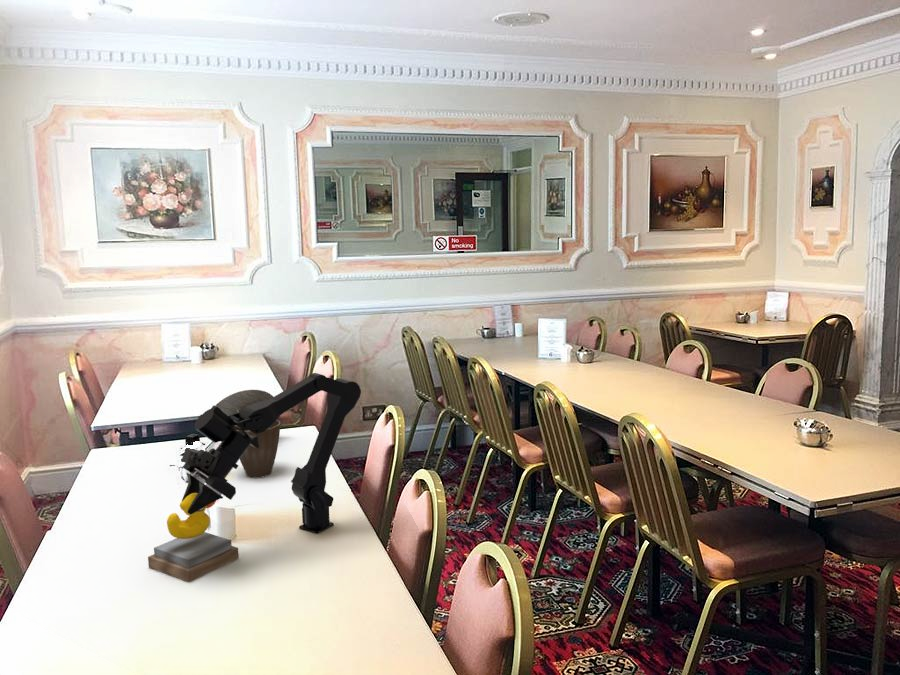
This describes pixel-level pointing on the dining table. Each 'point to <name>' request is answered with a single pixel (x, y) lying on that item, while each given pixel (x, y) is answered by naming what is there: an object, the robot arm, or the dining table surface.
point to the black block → (192, 439)
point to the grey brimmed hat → (242, 400)
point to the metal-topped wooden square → (193, 556)
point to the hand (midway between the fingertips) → (185, 510)
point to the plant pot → (261, 452)
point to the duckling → (189, 520)
